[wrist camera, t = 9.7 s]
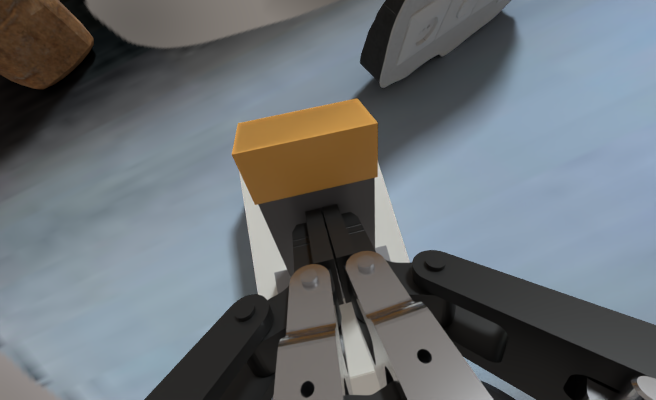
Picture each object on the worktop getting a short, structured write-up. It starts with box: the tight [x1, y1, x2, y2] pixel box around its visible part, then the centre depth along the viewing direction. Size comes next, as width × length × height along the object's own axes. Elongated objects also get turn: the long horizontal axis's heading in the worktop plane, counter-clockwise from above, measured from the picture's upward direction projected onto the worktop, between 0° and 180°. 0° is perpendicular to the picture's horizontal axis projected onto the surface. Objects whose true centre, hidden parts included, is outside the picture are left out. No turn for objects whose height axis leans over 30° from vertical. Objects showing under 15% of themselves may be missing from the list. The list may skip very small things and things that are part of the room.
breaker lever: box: [232, 99, 378, 298], centre depth 14 cm, size 5×3×13 cm
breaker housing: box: [239, 163, 410, 396], centre depth 21 cm, size 12×24×8 cm, turn 13°
